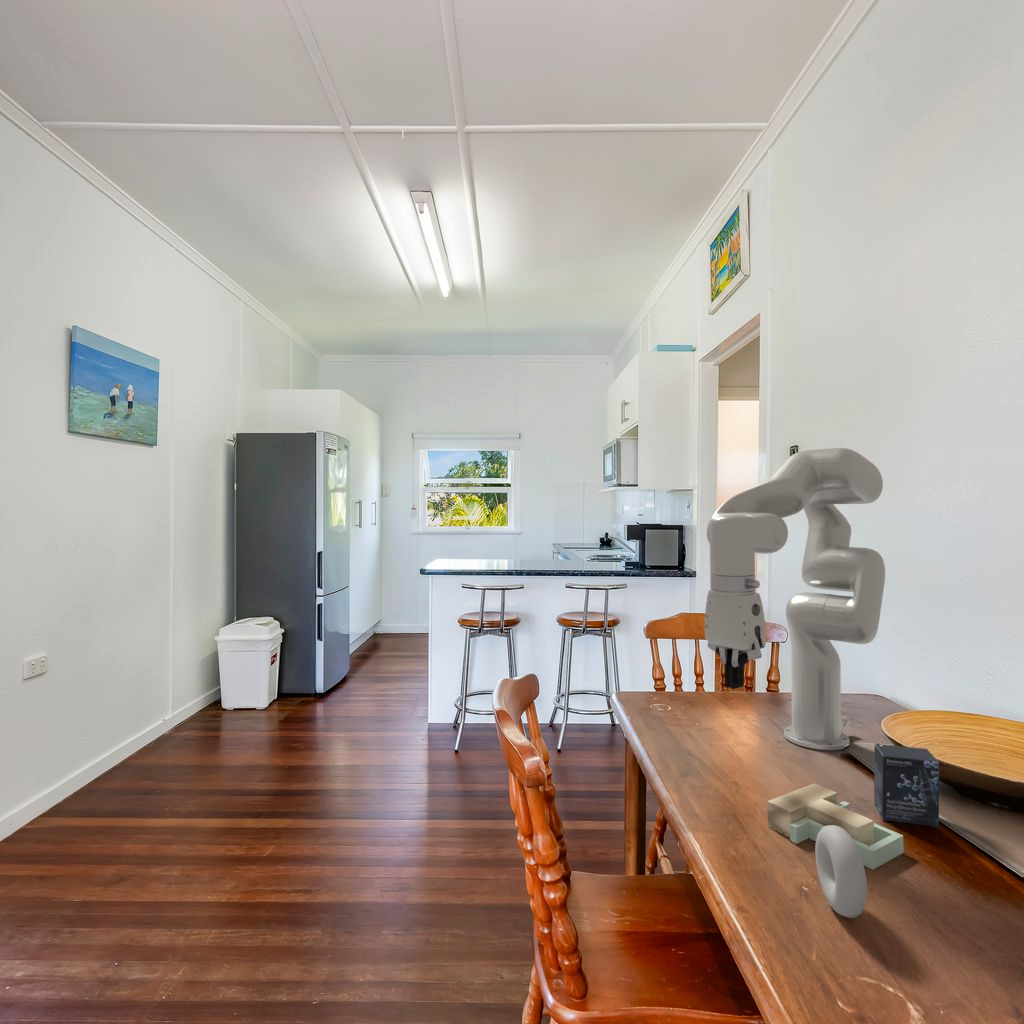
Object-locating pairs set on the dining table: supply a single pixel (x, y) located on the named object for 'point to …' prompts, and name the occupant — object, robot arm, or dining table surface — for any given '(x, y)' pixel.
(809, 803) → the t block
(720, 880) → the dining table surface
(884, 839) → the t dock
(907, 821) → the box
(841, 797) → the dining table surface
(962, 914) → the dining table surface
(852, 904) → the donut
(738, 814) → the dining table surface
